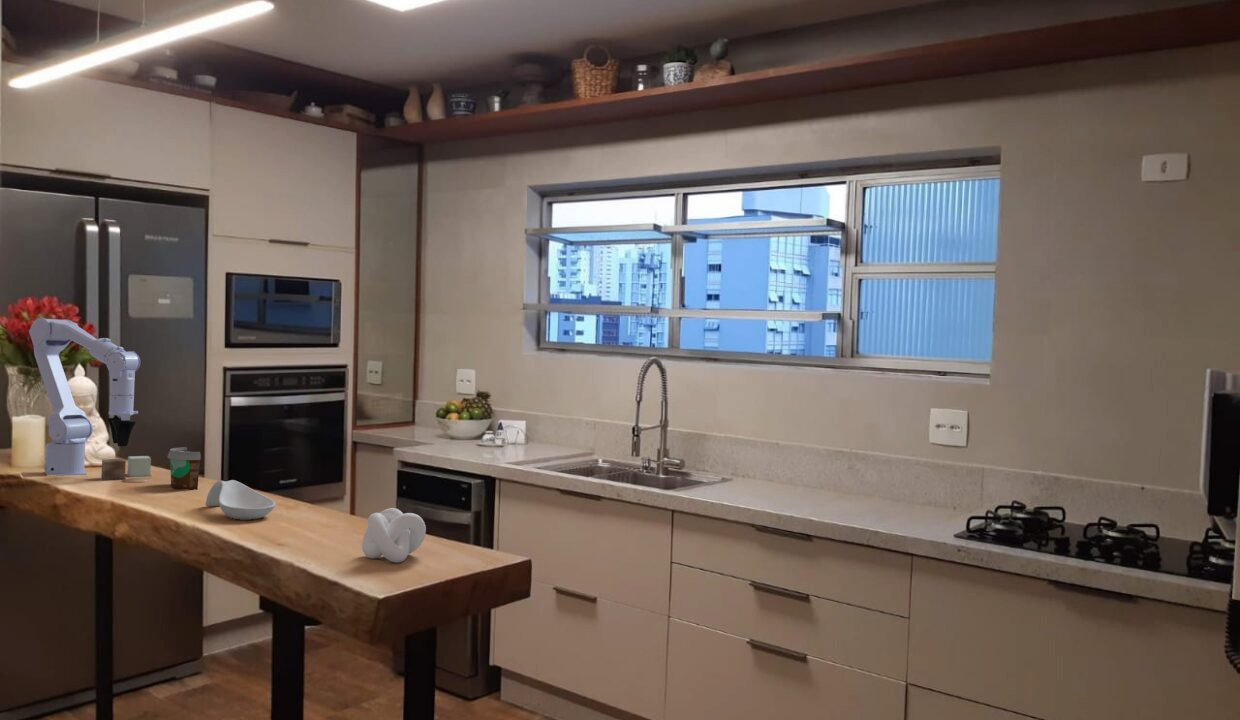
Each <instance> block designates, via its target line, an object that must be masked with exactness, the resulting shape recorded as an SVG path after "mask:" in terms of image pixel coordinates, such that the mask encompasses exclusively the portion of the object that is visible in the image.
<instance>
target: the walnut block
mask: <svg viewBox="0 0 1240 720" xmlns="http://www.w3.org/2000/svg"><path fill="white" fill-rule="evenodd" d="M126 463H127V461H126V460H125V459H124V458H113V459H111V458H107V459H104V458H103V459H101V477H100V478H102V479H103V480H112V481H123V480H124V479H125V478H126V475H125V474H126Z"/></svg>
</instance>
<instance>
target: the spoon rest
mask: <svg viewBox="0 0 1240 720" xmlns="http://www.w3.org/2000/svg"><path fill="white" fill-rule="evenodd" d="M205 507H219V508H220V509H221V511H222V513H223V514H225V516H227V517H228V518H230V519H232V518H233V519H232V520H235V519H240V520H239V521H252V520H251V519H254V520H259V519H261V518H263V517H266V516H267V515H269V514H270V513H271V512H273V510H274V508H275V507H276V502H275V501H274V499H272V498H270V497H268V496H266V495H264V494H262V493H260V492H258V491H256V490H254V489H252V488H251V487H249V486H247V485H245V484H244V483H242V482H240V481H237V480H235V479H231V480H227V481H224V480H217V481H216V482H214V484H213V485H212V487H211V488H210V490H209V492H208V494H207V496H206V501H205Z"/></svg>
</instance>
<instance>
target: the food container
mask: <svg viewBox="0 0 1240 720" xmlns="http://www.w3.org/2000/svg"><path fill="white" fill-rule="evenodd" d="M167 459H169V463H170V464H169V465H170V486H171V489H173V488H177V489H176V490H180V489H189V491H193V490H192V489H196V490H199V488H198V486H199V475H200V464H201V463H200V461H201V459H202V457H201V451H191V450H190V451H189V450H188V447H187V446H185V447H184V446H183V447H174V448H170V449H169V451H168V454H167ZM190 489H191V490H190Z"/></svg>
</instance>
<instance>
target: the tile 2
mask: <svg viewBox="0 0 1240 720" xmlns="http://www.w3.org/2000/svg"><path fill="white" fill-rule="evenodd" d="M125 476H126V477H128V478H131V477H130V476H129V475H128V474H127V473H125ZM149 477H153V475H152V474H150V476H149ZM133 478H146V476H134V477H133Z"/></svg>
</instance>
